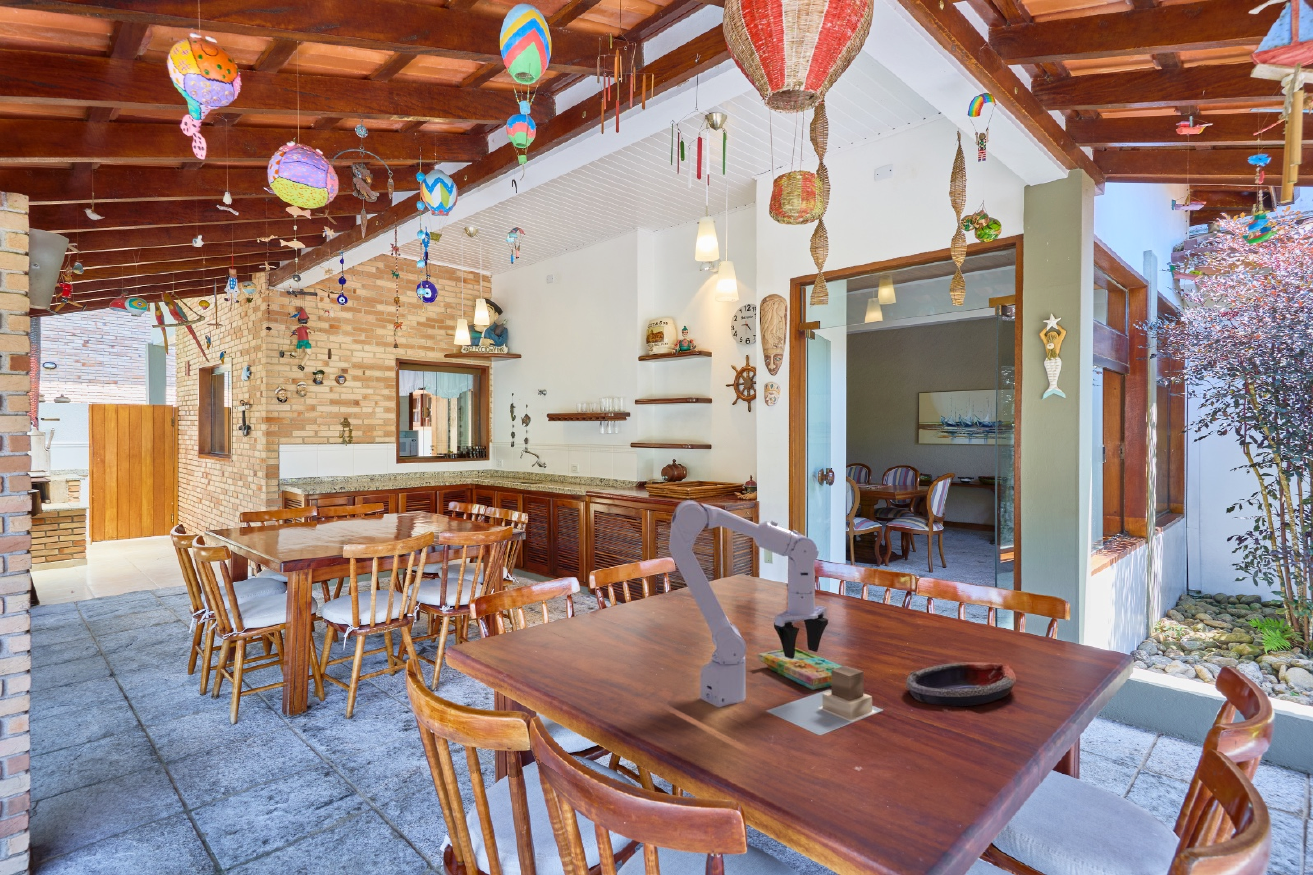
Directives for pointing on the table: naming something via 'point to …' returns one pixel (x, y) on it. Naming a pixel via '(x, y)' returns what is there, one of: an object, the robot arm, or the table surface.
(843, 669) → the walnut block
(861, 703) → the maple block
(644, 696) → the table surface
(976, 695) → the dish
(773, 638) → the table surface
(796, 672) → the puzzle game
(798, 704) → the board
